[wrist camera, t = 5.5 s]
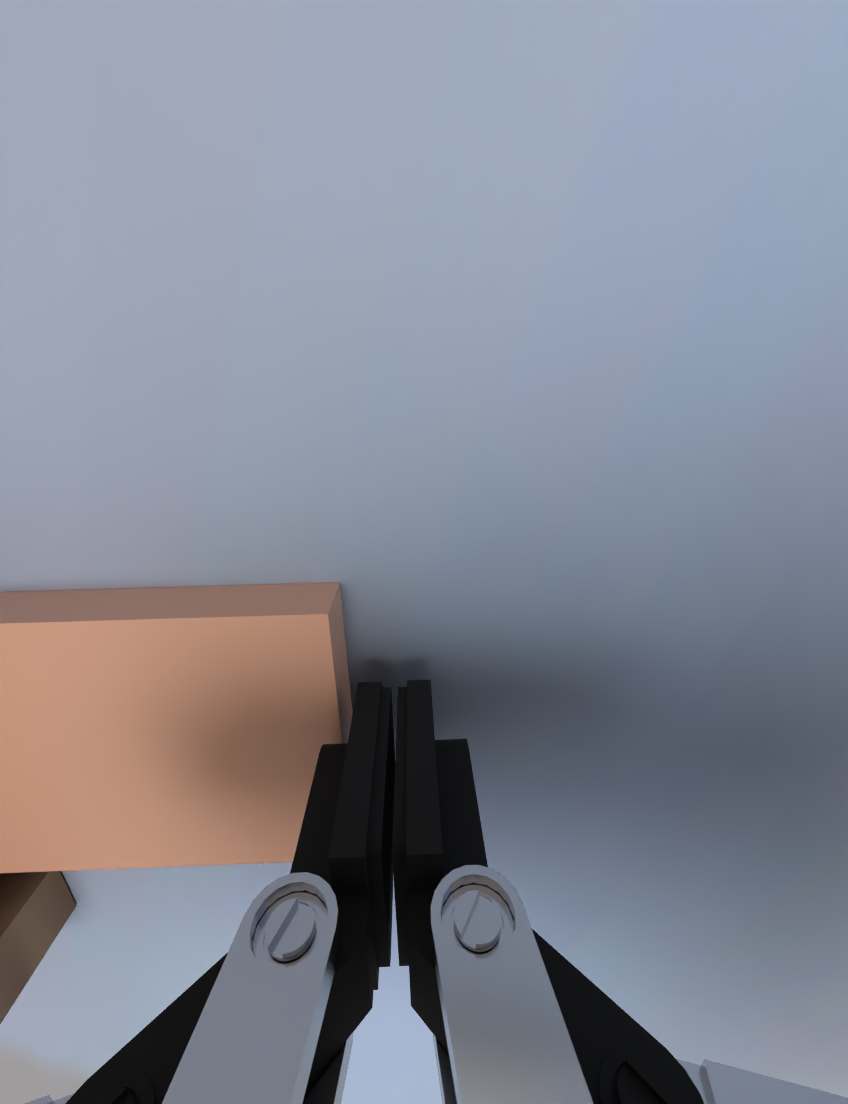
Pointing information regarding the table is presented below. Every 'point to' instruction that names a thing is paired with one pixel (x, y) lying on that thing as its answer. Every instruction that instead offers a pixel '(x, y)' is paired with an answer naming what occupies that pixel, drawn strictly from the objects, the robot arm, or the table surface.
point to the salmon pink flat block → (165, 722)
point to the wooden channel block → (28, 926)
